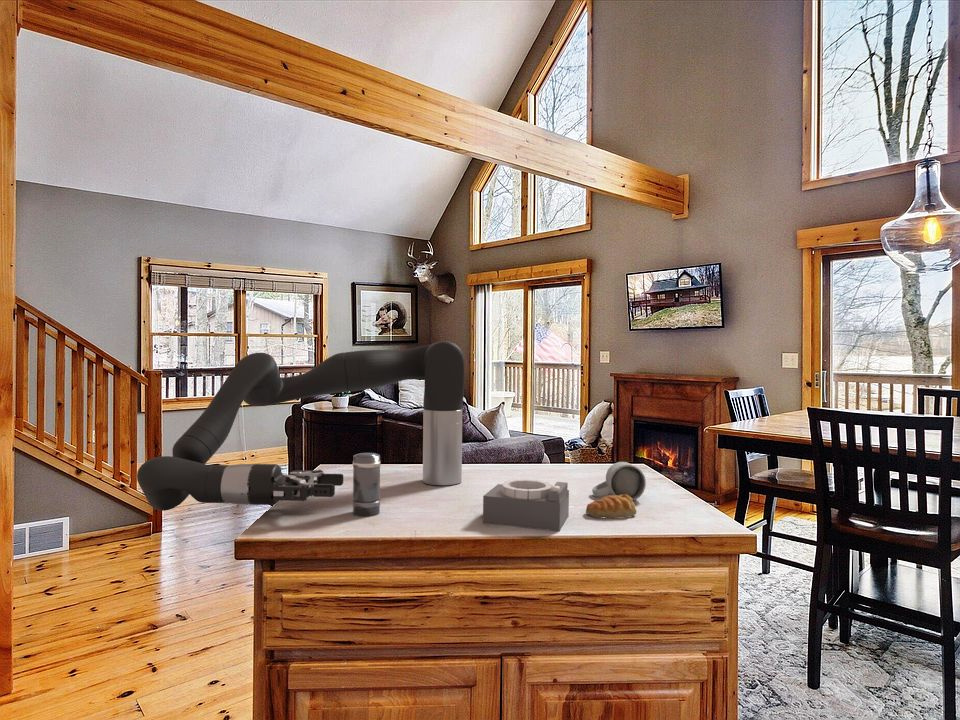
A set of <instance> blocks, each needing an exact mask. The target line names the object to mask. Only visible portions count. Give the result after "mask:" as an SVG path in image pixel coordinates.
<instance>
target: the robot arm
mask: <svg viewBox="0 0 960 720" xmlns="http://www.w3.org/2000/svg"><path fill="white" fill-rule="evenodd" d="M465 364H466V363H465V356H464V353H463V351H462V349H461V348H460V347H459V346H458V345H457V344H456V343H454V342H451V341H445V340H442V341H436V342H434V343H433V342H432V343H430V344H427V345H421V346H417V347H413V348H407V349H368V350H367V349H366V350H365V349H364V350H354V351H345V352H338V353H336V354H332V355H331V356H329V357H327V358H326V359H324V360H323V361H321V362H320V363H319V364H317V365H316V366H314V367H313V368H312V369H311V368H310V370H308V371H307V372H303V373H301V374H297V375H292V376H285V377H281V374H280V371H279V367H278V364H277V362H276V360H275V358H274V357H273V356H272V355H270V354H269V353H266V352H254V353H250V354H247V355H246V356H244V357H243V358H241V359H239V361H238V362H237V363H236V365H234V366H233V368H232V369H231V371H230V373H229V374H228V375H227V378H225V381H224V382H223V384H222V385H221V387H220V388H219V389H218V391H217V392H216V394H215V395H214V396H213V399H212V400H211V401H210V402H209V404H208V406H207V407H206V408H205V409H204V411H203V412H202V414H200V416H199V417H198V418H197V419H196V420H195V422H193V423H192V424H191V426H190V427H189V428H187V430H186V431H185V432H184V433H183V434H182V435H181V436H180V437H179V438H178V439H177V440H176V442H175V443H174V445H173V446H172V449H171V450H172V456H170V455H169V456H168V455H167V456H165V455H162V456H157V457H154V458H150V459H149V460H147V461H145V462H144V463H142V464H141V465H140V467H139V468H138V470H137V473H136V480H137V483H138V486H139V487H140V489H141V491H142V493H143V495H144V497H145V499H146V501H147V502H148V504H149V505H150V506H151V507H152V508H153V509H154V510H157V511H161V512H165V511H169V510H172V509H175V508H176V507H178V506H180V505H181V504H182V503H183V502H184V501H185V500H186V499H187V498H188V497H189V496H191V497H192V498H193V499H194V500H195V501H196V502H198V503H202V504H203V503H204V504H231V505H242V506H243V505H244V506H245V505H247V506H256V505H258V506H259V505H260V506H262V505H263V506H274V505H276V504H278V502H279V501H283V502H287V501H288V502H289V501H292V502H293V501H295V502H305V501H307V499H312V498H313V497H315V498H317V497H318V498H319V497H321V498H333V497H334V496H335V494H336V492H335V491H336V487H337V486H340V487H341V486H342V485H343V484H344V477H345V476H344V474H343V473H325V472H324V470H321V469H319V470H316V469H314V470H307V469H305V470H302V469H301V470H297V469H294V470H292V471H291V472H289V474H283V473H282V468H281V467H280V465H279V464H277V463H274V464H273V463H239V464H207V463H208V461H210V459H211V458H212V457H213V456H214V455H215V454H216V452H217V451H218V450H219V449H220V448H221V447H222V445H223V444H224V443H225V441H226V440H227V438H228V437H229V434H230V433H231V430H232V427H233V425H234V422H235V420H236V418H237V414H238V412H239V409H240V408H241V406H242V404H243V402H244V403H245V404H246V405H248V406H252V407H267V406H272V405H277V404H282V403H288V402H291V401H295V400H300V399H306V398H310V397H319V396H325V395H331V394H339V393H340V394H341V393H349V392H350V393H351V392H357V391H365V390H371V389H375V388H380V387H383V386H384V387H385V386H388V385H391V384H394V383H398V382H401V381H410V380H422V379H424V389H423V409H422V410H423V411H422V412H423V413H422V415H423V417H422V418H423V419H422V420H423V422H422V423H423V425H422V426H423V427H422V428H423V430H422V438H423V439H422V483H423V484H427V485H430V486H431V485H432V486H451V485H457V484H460V483H462V475H463V474H462V473H463V472H462V471H463V468H462V467H463V465H462V464H463V403H464V395H465V375H466V374H465V371H466V369H465ZM315 478H316V479H315Z"/></svg>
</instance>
